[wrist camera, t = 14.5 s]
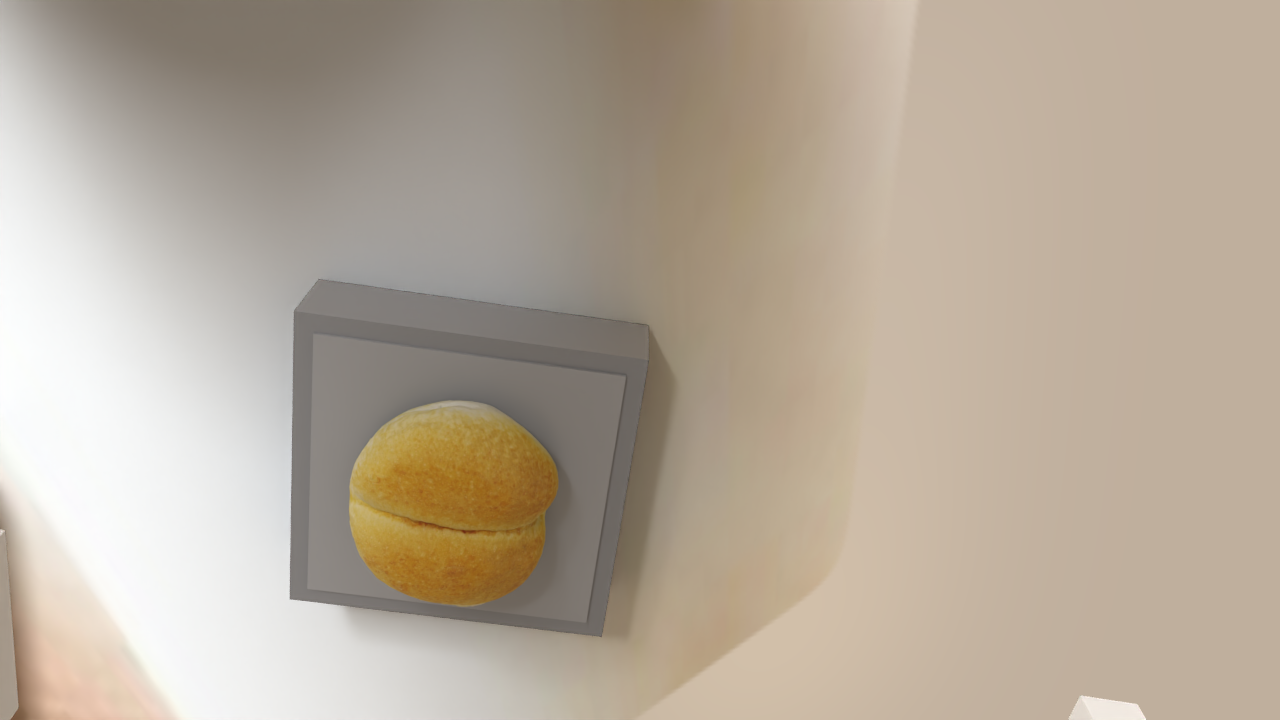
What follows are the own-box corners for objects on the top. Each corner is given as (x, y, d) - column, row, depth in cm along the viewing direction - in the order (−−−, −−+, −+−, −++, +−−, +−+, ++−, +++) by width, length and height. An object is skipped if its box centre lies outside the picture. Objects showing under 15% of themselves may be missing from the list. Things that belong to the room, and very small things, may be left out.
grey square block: (311, 553, 50) (288, 601, 47) (318, 279, 44) (292, 312, 41) (604, 589, 51) (601, 638, 48) (648, 325, 45) (649, 361, 42)
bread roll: (573, 411, 43) (567, 462, 39) (532, 587, 47) (523, 648, 43) (369, 370, 42) (345, 417, 39) (344, 552, 46) (319, 611, 42)
